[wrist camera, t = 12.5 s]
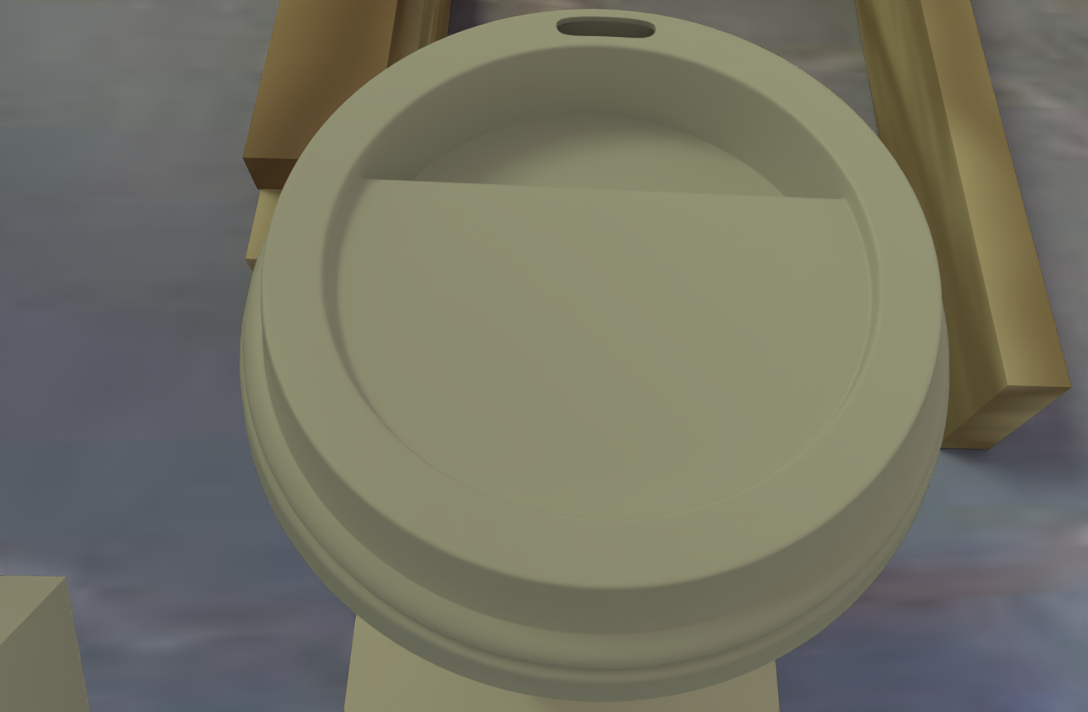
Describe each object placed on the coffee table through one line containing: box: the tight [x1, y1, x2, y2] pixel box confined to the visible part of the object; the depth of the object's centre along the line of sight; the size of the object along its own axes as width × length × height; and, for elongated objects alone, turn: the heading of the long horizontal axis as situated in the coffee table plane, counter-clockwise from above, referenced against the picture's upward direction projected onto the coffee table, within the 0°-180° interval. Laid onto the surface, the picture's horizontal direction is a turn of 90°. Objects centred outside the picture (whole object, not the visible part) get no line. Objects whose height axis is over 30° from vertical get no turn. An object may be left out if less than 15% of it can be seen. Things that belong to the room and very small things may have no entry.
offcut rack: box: [855, 0, 1071, 449], centre depth 29 cm, size 22×22×4 cm
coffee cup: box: [240, 9, 949, 702], centre depth 17 cm, size 10×10×15 cm
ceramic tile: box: [344, 614, 780, 712], centre depth 24 cm, size 11×11×1 cm
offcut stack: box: [243, 0, 451, 271], centre depth 28 cm, size 4×16×5 cm, turn 178°
